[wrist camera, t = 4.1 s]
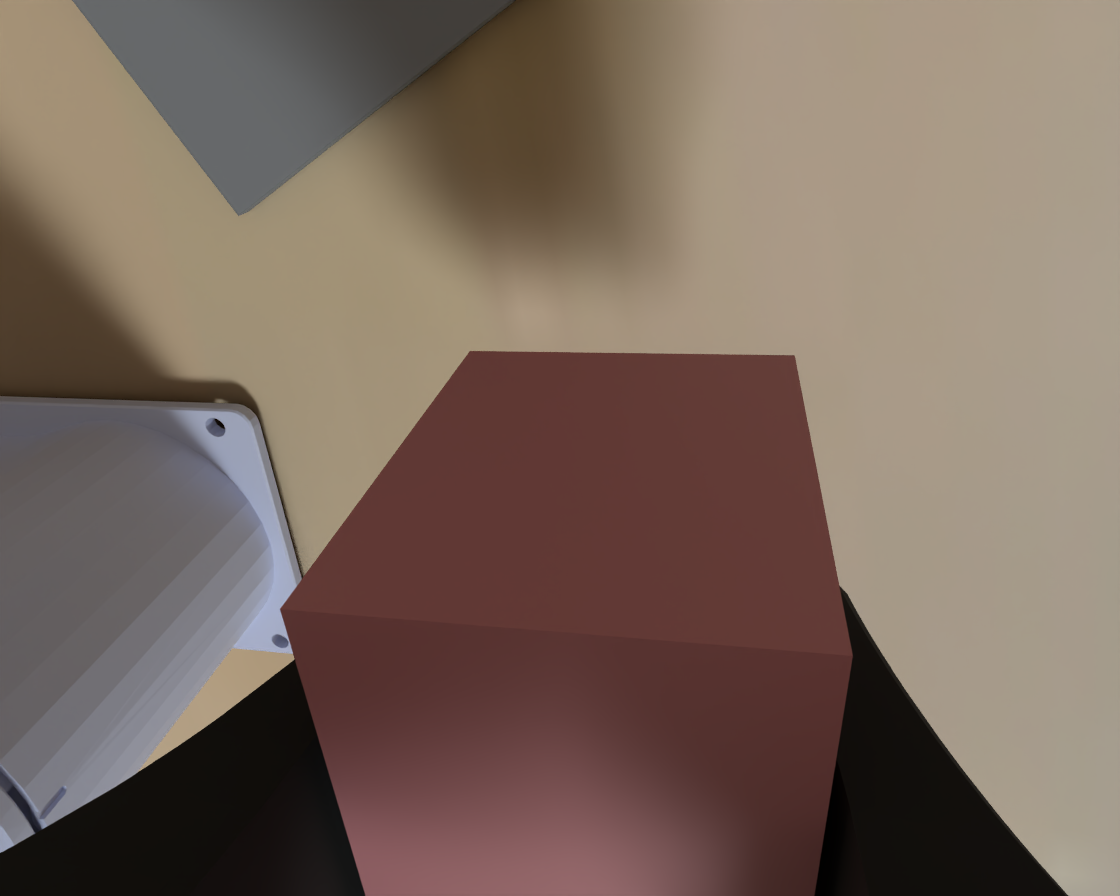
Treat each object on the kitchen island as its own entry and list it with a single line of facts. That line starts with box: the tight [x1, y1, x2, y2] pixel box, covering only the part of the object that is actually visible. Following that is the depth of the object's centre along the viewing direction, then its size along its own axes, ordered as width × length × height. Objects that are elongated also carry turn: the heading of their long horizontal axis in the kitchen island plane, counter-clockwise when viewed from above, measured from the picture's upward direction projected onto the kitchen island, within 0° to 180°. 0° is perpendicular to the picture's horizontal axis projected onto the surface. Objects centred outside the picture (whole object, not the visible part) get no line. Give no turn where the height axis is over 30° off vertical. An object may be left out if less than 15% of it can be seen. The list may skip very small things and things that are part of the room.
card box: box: [280, 351, 853, 896], centre depth 9 cm, size 4×6×5 cm, turn 3°
